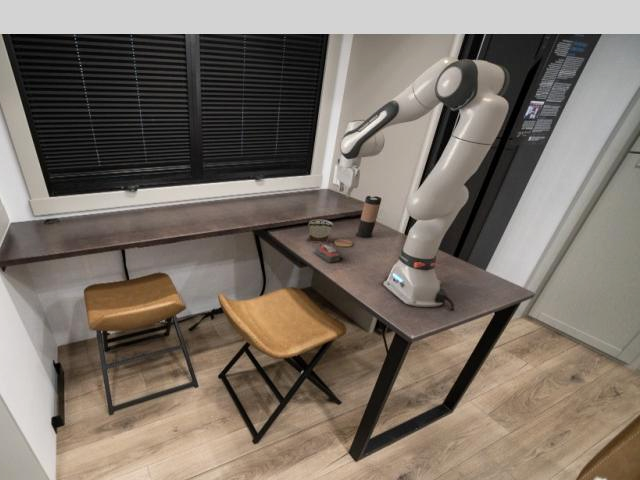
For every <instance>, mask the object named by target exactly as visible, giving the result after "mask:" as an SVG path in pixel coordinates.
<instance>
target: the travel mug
mask: <svg viewBox="0 0 640 480" xmlns="http://www.w3.org/2000/svg"><path fill="white" fill-rule="evenodd" d="M381 203H382V197H380V196H376V195H374V196H371V195H367V196H366V197H365V200H364V204H363V207H362V212H361V214H360V215H361V216H360V220H359V225H358V229H357V236H358V237H360V238H363V239H364V238H365V239H369V238H371V237H372V235H373V231H374V229H375V226H376V222H377V218H378V215H379V210H380V207H381Z"/></svg>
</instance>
